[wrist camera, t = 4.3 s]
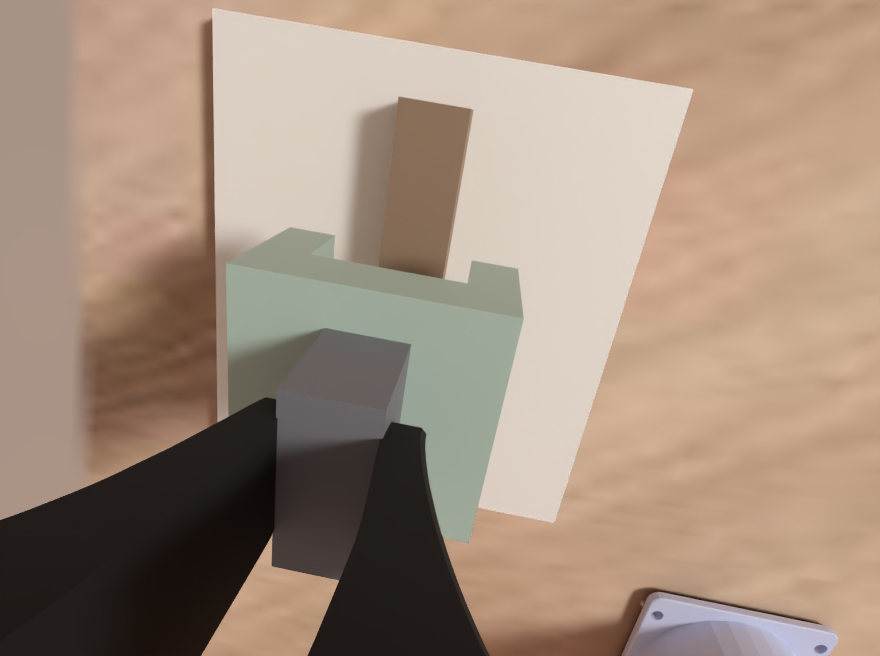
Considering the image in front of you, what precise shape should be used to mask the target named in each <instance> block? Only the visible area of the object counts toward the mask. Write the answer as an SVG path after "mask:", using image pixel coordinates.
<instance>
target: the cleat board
mask: <svg viewBox="0 0 880 656" xmlns="http://www.w3.org/2000/svg"><path fill="white" fill-rule="evenodd" d="M212 24H213V103H214V182H215V262H216V341H217V420H218V422H220V421H221V420H223V419H225V418H227V417H229V415H228V359H227V302H226V263H227V262H229V261H231V260H232V259H234V258H236V257H238V256H240V255H241V254H243V253H245V252H247V251H249V250H250V249H252V248H254V247H256V246H257V245H259V244H261V243H263V242H265V241H266V240H268V239H270V238H272V237H273V236H275V235H277V234H279V233H281V232H282V231H284V230H286V229H288V228H290V227H292V228H298V229H303V230H309V231H314V232H320V233H325V234H331V235H335V244H334V258H333V259H338V260H343V261H349V262H354V263H360V264H365V265H370V266H376V267H381V268H387V269H392V270H398V271H403V272H408V273H414V274H419V275H425V276H430V277H436V278H441V279H446V280H452V281H457V282H463V283H468V278H469V272H470V267H471V262H472V260H473V261H479V262H484V263H490V264H495V265H501V266H506V267H511V268H517V269H518V273H519V282H520V291H521V299H522V308H523V317H524V320H523V324H522V328H521V332H520V336H519V340H518V344H517V348H516V352H515V357H514V361H513V365H512V369H511V373H510V377H509V381H508V385H507V389H506V394H505V398H504V402H503V406H502V410H501V414H500V418H499V422H498V426H497V430H496V435H495V439H494V443H493V447H492V451H491V455H490V459H489V463H488V467H487V472H486V476H485V480H484V484H483V488H482V492H481V496H480V500H479V504H478V508H482V509H487V510H492V511H497V512H502V513H507V514H512V515H517V516H522V517H527V518H532V519H536V520H541V521H546V522H551V523H554V522H555V519H556V516H557V513H558V510H559V507H560V504H561V501H562V498H563V494H564V491H565V488H566V485H567V482H568V479H569V476H570V473H571V470H572V466H573V463H574V460H575V457H576V454H577V451H578V448H579V445H580V441H581V438H582V435H583V432H584V429H585V426H586V423H587V420H588V417H589V413H590V410H591V407H592V404H593V401H594V398H595V395H596V392H597V389H598V385H599V382H600V379H601V376H602V373H603V370H604V367H605V364H606V360H607V357H608V354H609V351H610V348H611V345H612V342H613V339H614V336H615V332H616V329H617V326H618V323H619V320H620V317H621V314H622V311H623V308H624V304H625V301H626V298H627V295H628V292H629V289H630V286H631V283H632V280H633V276H634V273H635V270H636V267H637V264H638V261H639V258H640V255H641V251H642V248H643V245H644V242H645V239H646V236H647V233H648V230H649V227H650V223H651V220H652V217H653V214H654V211H655V208H656V205H657V202H658V199H659V195H660V192H661V189H662V186H663V183H664V180H665V177H666V174H667V170H668V167H669V164H670V161H671V158H672V155H673V152H674V149H675V146H676V142H677V139H678V136H679V133H680V130H681V127H682V124H683V121H684V118H685V114H686V111H687V108H688V105H689V102H690V99H691V96H692V93H693V89H689V88H683V87H677V86H671V85H665V84H659V83H653V82H647V81H642V80H636V79H630V78H624V77H618V76H612V75H606V74H600V73H594V72H588V71H582V70H576V69H570V68H565V67H559V66H553V65H547V64H541V63H535V62H529V61H523V60H517V59H511V58H505V57H499V56H493V55H488V54H482V53H476V52H470V51H464V50H458V49H452V48H446V47H440V46H434V45H428V44H422V43H416V42H411V41H405V40H399V39H393V38H387V37H381V36H375V35H369V34H363V33H357V32H351V31H345V30H339V29H334V28H328V27H322V26H316V25H310V24H304V23H298V22H292V21H286V20H280V19H274V18H268V17H262V16H257V15H251V14H245V13H239V12H233V11H227V10H221V9H215V8H212Z"/></svg>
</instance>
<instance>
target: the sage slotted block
mask: <svg viewBox="0 0 880 656" xmlns="http://www.w3.org/2000/svg"><path fill="white" fill-rule="evenodd" d="M334 244H335V235H331V234H325V233H320V232H314V231H309V230H303V229H298V228H292V227H290V228H288V229H286V230H284V231H282V232H281V233H279V234H277V235H275V236H273V237H272V238H270V239H268V240H266V241H265V242H263V243H261V244H259V245H257V246H256V247H254V248H252V249H250V250H249V251H247V252H245V253H243V254H241V255H240V256H238V257H236V258H234V259H232V260H231V261H229V262H227V263H226V302H227V359H228V415H229V416H230V415H232V414H234V413H236V412H238V411H240V410H241V409H243V408H245V407H247V406H249V405H251V404H253V403H255V402H257V401H259V400H261V399H263V398H265V397H268V398H273V399H276V418H278V422H277V455H276V487H275V519H274V531H273V539H272V566H273V567H278V568H283V569H288V570H292V571H297V572H302V573H307V574H312V575H316V576H321V577H326V578H331V579H336V580H340V578H341V575H342V573H343V570H344V568H345V565H346V563H347V560H348V557H349V555H350V552H351V550H352V547H353V545H354V542H355V540H356V536H357V533H358V530H359V526H360V523H361V520H362V516H363V511H364V507H365V503H366V498H367V494H368V490H369V485H370V481H371V477H372V472H373V468H374V464H375V459H376V455H377V451H378V446H379V442H380V440H381V439H383V437H384V435H385V433H386V431H387V429H388V427H389V425H390V423H391V422H395V423H400V424H405V425H410V426H415V427H421V428H422V429H423V430H424V431H425V433H426V434H427V435H426V443H425V452H426V464H427V471H428V478H429V484H430V489H431V493H432V498H433V502H434V507H435V511H436V515H437V519H438V523H439V526H440V530H441V533H442V537H443V538H446V539H451V540H456V541H461V542H466V543H469V541H470V537H471V533H472V529H473V525H474V521H475V517H476V513H477V509H478V504H479V500H480V496H481V492H482V488H483V484H484V480H485V476H486V472H487V467H488V463H489V459H490V455H491V451H492V447H493V443H494V439H495V435H496V430H497V426H498V422H499V418H500V414H501V410H502V406H503V402H504V398H505V394H506V389H507V385H508V381H509V377H510V373H511V369H512V365H513V361H514V357H515V352H516V348H517V344H518V340H519V336H520V332H521V328H522V324H523V320H524V317H523V308H522V299H521V291H520V282H519V273H518V269H517V268H511V267H506V266H501V265H495V264H490V263H484V262H479V261H473V260H472V262H471V267H470V272H469V278H468V283H463V282H457V281H452V280H446V279H441V278H436V277H430V276H425V275H419V274H414V273H408V272H403V271H398V270H392V269H387V268H381V267H376V266H370V265H365V264H360V263H354V262H349V261H343V260H338V259H333V258H334Z"/></svg>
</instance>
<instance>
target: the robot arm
mask: <svg viewBox="0 0 880 656" xmlns="http://www.w3.org/2000/svg"><path fill="white" fill-rule="evenodd" d="M277 422H278V418H276V399H273V398H268V397H265V398H263V399H261V400H259V401H257V402H255V403H253V404H251V405H249V406H247V407H245V408H243V409H241V410H240V411H238V412H236V413H234V414H232V415H230V416H229V417H227V418H225V419H223V420H221V421H220V422H218V423H216V424H214V425H212V426H210V427H208V428H207V429H205V430H203V431H201V432H199V433H197V434H195V435H193V436H191V437H190V438H188V439H186V440H184V441H182V442H180V443H178V444H176V445H174V446H173V447H171V448H169V449H167V450H164V451H162V452H160V453H158V454H156V455H154V456H152V457H150V458H148V459H146V460H144V461H141V462H139V463H137V464H135V465H133V466H131V467H129V468H127V469H125V470H123V471H121V472H119V473H116V474H114V475H112V476H110V477H108V478H106V479H103V480H101V481H99V482H97V483H94V484H92V485H90V486H87V487H85V488H83V489H80V490H78V491H75V492H73V493H71V494H68V495H66V496H63V497H60V498H58V499H55V500H53V501H50V502H48V503H45V504H43V505H40V506H38V507H35V508H32V509H30V510H27V511H25V512H22V513H19V514H17V515H14V516H11V517H8V518H5V519H2V520H0V656H201V655H202V653H203V651H204V650H205V648H206V646H207V645H208V643H209V641H210V640H211V638H212V636H213V634H214V633H215V631H216V629H217V628H218V626H219V624H220V623H221V621H222V619H223V618H224V616H225V614H226V613H227V611H228V609H229V608H230V606H231V604H232V602H233V601H234V599H235V597H236V596H237V594H238V592H239V591H240V589H241V587H242V586H243V584H244V582H245V581H246V579H247V577H248V576H249V574H250V572H251V570H252V569H253V567H254V565H255V564H256V562H257V560H258V558H259V557H260V555H261V553H262V552H263V550H264V548H265V546H266V545H267V543H268V541H269V539H270V538H271V536H272V533H273V531H274V519H275V487H276V455H277ZM426 435H427V434H426V433H425V431H424V430H423V429H422V428H421V427H415V426H410V425H405V424H400V423H395V422H391V423H390V425H389V427H388V429H387V431H386V433H385V435H384V437H383V439H381V440H380V442H379V446H378V451H377V455H376V459H375V464H374V468H373V472H372V477H371V481H370V485H369V490H368V494H367V498H366V503H365V507H364V511H363V516H362V520H361V523H360V526H359V530H358V533H357V536H356V540H355V542H354V545H353V547H352V550H351V552H350V555H349V557H348V560H347V563H346V565H345V568H344V570H343V573H342V575H341V578H340V580H339V583H338V585H337V588H336V590H335V592H334V595H333V597H332V600H331V602H330V604H329V607H328V609H327V612H326V614H325V616H324V619H323V621H322V624H321V626H320V628H319V631H318V633H317V636H316V638H315V640H314V643H313V645H312V647H311V649H310V652H309V654H308V656H490V655H489V653H488V651H487V649H486V647H485V645H484V643H483V641H482V639H481V637H480V634H479V632H478V630H477V627H476V625H475V623H474V621H473V618H472V616H471V614H470V611H469V609H468V607H467V604H466V602H465V599H464V597H463V594H462V592H461V589H460V587H459V584H458V581H457V579H456V576H455V573H454V570H453V568H452V565H451V562H450V559H449V556H448V553H447V550H446V546H445V543H444V540H443V537H442V533H441V530H440V526H439V523H438V519H437V515H436V511H435V507H434V502H433V498H432V493H431V489H430V484H429V478H428V471H427V464H426V452H425V443H426ZM655 611H657V612H655ZM837 642H838V637H837V635H836V634H835V632H834V631H833V629H831V628H830V627H828V626H824V625H819V624H815V623H810V622H805V621H800V620H795V619H790V618H785V617H780V616H775V615H771V614H766V613H761V612H756V611H751V610H746V609H741V608H736V607H732V606H727V605H722V604H717V603H712V602H707V601H702V600H697V599H693V598H688V597H683V596H678V595H673V594H668V593H663V592H655V593H652V594H650V595H649V596H648V598H647V599H646V602H645V604H644V606H643V608H642V611H641V613H640V615H639V617H638V620H637V622H636V624H635V626H634V629H633V631H632V633H631V635H630V638H629V640H628V642H627V644H626V646H625V649H624V651H623V653H622V655H621V656H829V654H830V653H831V651H832V650H833V648H834V647H835V645H836V644H837Z"/></svg>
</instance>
